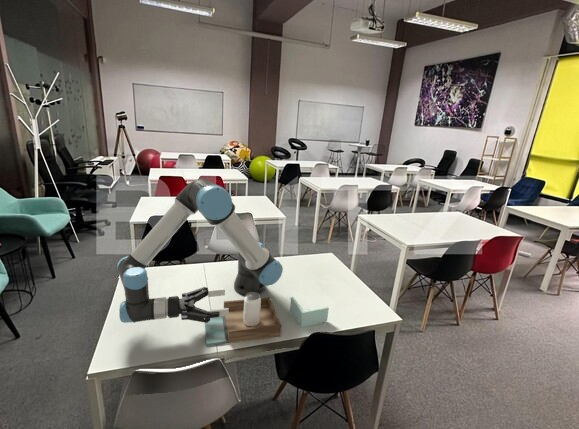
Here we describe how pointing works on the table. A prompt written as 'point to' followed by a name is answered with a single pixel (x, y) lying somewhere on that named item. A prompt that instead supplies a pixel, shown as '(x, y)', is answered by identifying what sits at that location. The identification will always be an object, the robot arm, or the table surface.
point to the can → (252, 309)
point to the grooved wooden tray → (242, 324)
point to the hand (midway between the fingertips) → (226, 301)
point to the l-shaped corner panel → (308, 314)
